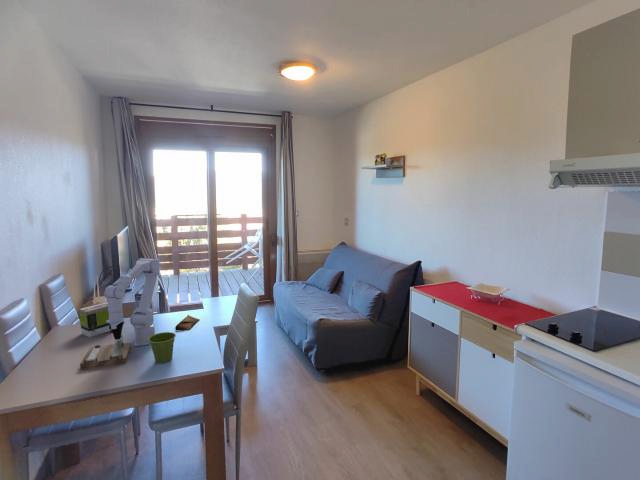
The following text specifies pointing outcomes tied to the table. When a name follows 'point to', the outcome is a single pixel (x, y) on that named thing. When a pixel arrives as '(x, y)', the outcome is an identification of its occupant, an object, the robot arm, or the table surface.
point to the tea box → (94, 319)
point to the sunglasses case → (186, 323)
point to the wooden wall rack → (106, 356)
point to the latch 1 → (94, 354)
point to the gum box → (137, 300)
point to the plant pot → (162, 346)
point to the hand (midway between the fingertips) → (117, 338)
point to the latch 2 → (117, 347)
